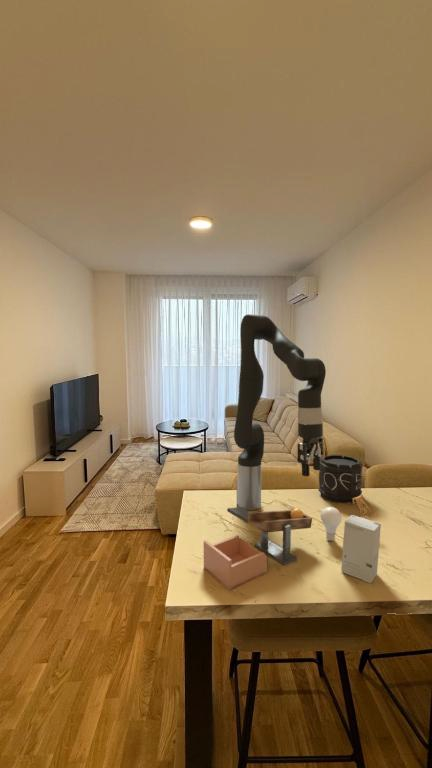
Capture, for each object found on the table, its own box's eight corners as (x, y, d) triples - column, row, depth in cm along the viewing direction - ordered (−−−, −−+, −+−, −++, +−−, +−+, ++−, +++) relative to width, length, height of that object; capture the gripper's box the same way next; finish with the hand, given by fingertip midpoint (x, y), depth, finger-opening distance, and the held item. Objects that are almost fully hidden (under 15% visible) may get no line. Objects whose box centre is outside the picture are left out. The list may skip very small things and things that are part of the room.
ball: (287, 519, 115) (288, 507, 115) (295, 518, 117) (297, 506, 117) (296, 524, 112) (298, 511, 112) (305, 522, 114) (306, 510, 114)
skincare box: (341, 572, 100) (342, 520, 99) (348, 562, 105) (350, 513, 103) (372, 584, 95) (374, 530, 93) (379, 574, 99) (381, 521, 98)
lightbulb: (340, 537, 119) (341, 505, 118) (340, 546, 113) (341, 513, 112) (320, 534, 121) (321, 502, 120) (319, 543, 115) (320, 510, 114)
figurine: (378, 531, 123) (379, 497, 122) (364, 535, 121) (365, 500, 120) (360, 521, 130) (361, 489, 129) (346, 524, 128) (347, 491, 127)
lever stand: (266, 541, 117) (266, 510, 116) (296, 560, 106) (297, 525, 105) (254, 546, 114) (254, 514, 113) (284, 565, 103) (285, 530, 102)
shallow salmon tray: (203, 568, 102) (203, 540, 102) (239, 553, 110) (239, 528, 109) (229, 590, 93) (229, 560, 92) (266, 572, 100) (266, 545, 99)
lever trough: (271, 508, 127) (272, 499, 127) (310, 528, 113) (312, 518, 113) (227, 511, 116) (228, 501, 116) (264, 533, 101) (266, 522, 102)
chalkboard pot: (341, 508, 142) (342, 469, 140) (309, 492, 158) (310, 457, 156) (372, 499, 150) (374, 462, 149) (339, 485, 166) (340, 452, 165)
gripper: (308, 418, 122) (309, 466, 122) (288, 423, 110) (290, 476, 111) (330, 419, 117) (331, 469, 117) (312, 425, 106) (313, 480, 106)
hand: (311, 472), depth 114 cm, fingers open, 8 cm apart
